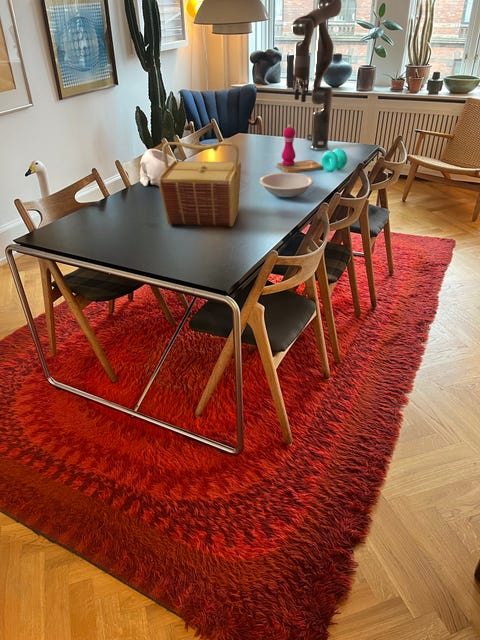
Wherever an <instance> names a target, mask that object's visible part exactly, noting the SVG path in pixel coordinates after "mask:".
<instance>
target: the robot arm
mask: <svg viewBox="0 0 480 640" xmlns="http://www.w3.org/2000/svg"><path fill="white" fill-rule="evenodd" d="M317 5H318V6H317V8H315V9H313V10H312V11H310V12H309V13H307V14H305V15H302V16H299V17H297V18H296V19H294V21H293V22H292V25H291V31H292V33H293V35H295V36H297V37H303V39H302V40H299V41H297V42H296V43H295V45H294V57H293V58H294V59H293V80H292V90H293V92H294V100H295V101H298V100H299V99H300V102H301V103H306V101H307V94H309V82H310V81H309V79H307V77H309V73H310V46H311V41H312V37H313V34H314V30H315V28H317V38H316V39H317V40H316V47H315V48H316V50H315V61H314V76H313V83H312V91H311V102H312V104H313V105H317V106H323V107H322V109H320V110H316V111H315V112H313V117H312V118H313V120H312V135H311V134H310V133H309V134H307V135H306V137H305V138H306V140H308V141H311V150H314V151H325V150H327V149H328V145H329V133H330V116H331V112H332V102H333V89H332V87H330V86H321V85H322V80H323V77H324V75H325V73H326V72H327V70H328V69H329V67H330V66H331V65H332V62H333V60H334V59H333V58H334V47H335V46H334V42H333V39H332V37H331V35H330V34H329V29H328V26H327V21H328V20H330V19H332V18H335V17H338V16H339V15H340V13H341V11H342V0H319V1H318V3H317ZM300 93H301V94H300ZM300 95H301V96H300Z"/></svg>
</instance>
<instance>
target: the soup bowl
mask: <svg viewBox="0 0 480 640" xmlns="http://www.w3.org/2000/svg"><path fill="white" fill-rule="evenodd" d="M314 183H315V182H314V179H313V178H312V177H311V176H309V175H306V174H303V173H299V172H297V173H286V172H275V173H270V174H266V175H264V176H262V177H260V178H259V184H260V185H261V186H263V187H264V189H265V190H266V191H267V192H268V193H269V194H270V195H273V196H275V197H279V198H293V197H297V196H300V195H302V194H304V193H305V192H306V191H307V190H308V188H309V187H311V186H312V185H313V184H314Z"/></svg>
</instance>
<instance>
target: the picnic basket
mask: <svg viewBox="0 0 480 640" xmlns="http://www.w3.org/2000/svg"><path fill="white" fill-rule="evenodd" d="M168 146H181V147H182V148H184V149H188V150H193V151H207V150H213V149H215V148H218V147H221V146H222V147H224V146H227V147H228V146H230V147H233V148H234V161H190V160H189V161H188V160H187V161H184V160H183V161H181V160H178V161H177V160H176V161H173V162H172V163H171V164H170V165H169V166H168V160H167V155H166V154H167V147H168ZM161 151H162V152H163V157H164V162H165V168H166V169H165V170H164V172H163V173H162V174H161V175H160V176H159V180H158V183H159V186H158V187H159V192H160V197H161V201H162V205H163V210H164V213H165V218H166V223H167V224H168V225H169V226H173V225H190V226H218V227H219V226H220V227H230V228H232V227H233V225H234V223H235V221H236V218H237V216H238V213H239V207H240V206H239V205H240V189H241V176H242V175H241V173H242V163H241V161H239V154H240V149H239V147H238V145H237V144H235V143H233V142H216V143H211V144H206V145H196V144H190V143H185V142H180V141H179V142H178V141H177V142H176V141H168V142H165V143H163V145H162V148H161Z"/></svg>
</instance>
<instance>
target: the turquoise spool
mask: <svg viewBox="0 0 480 640" xmlns="http://www.w3.org/2000/svg"><path fill="white" fill-rule="evenodd" d="M347 163H348V155H347V153H346V151H345V150H344V149H342V148H336V149H334V150H333V151H331V150H329V151H325V152H324V153H323V155H322V156H321V166H323V170H325V171H327V172H330V173H331V172H335V171H336V170H341V169H344V168H345V166H346V165H347Z"/></svg>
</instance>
